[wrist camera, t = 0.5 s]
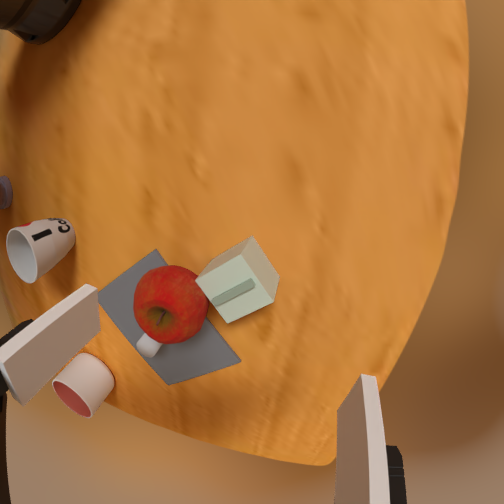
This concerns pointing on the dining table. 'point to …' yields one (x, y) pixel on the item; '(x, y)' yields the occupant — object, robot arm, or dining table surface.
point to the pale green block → (239, 280)
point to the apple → (170, 304)
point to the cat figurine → (5, 192)
